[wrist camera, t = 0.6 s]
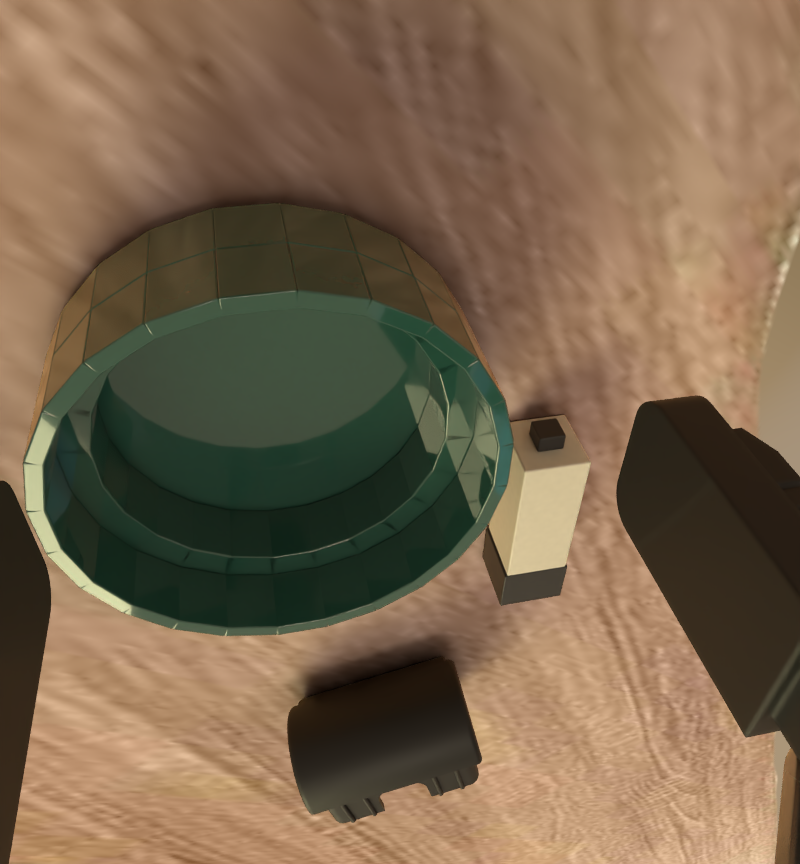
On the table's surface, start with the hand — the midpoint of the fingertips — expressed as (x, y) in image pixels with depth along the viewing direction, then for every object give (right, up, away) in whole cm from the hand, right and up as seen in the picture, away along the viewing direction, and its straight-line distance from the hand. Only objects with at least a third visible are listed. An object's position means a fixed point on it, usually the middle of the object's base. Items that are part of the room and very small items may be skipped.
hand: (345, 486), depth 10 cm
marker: (+7, -2, +28) cm, 29 cm away
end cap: (-1, -15, +37) cm, 40 cm away
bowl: (-4, +2, +20) cm, 21 cm away
